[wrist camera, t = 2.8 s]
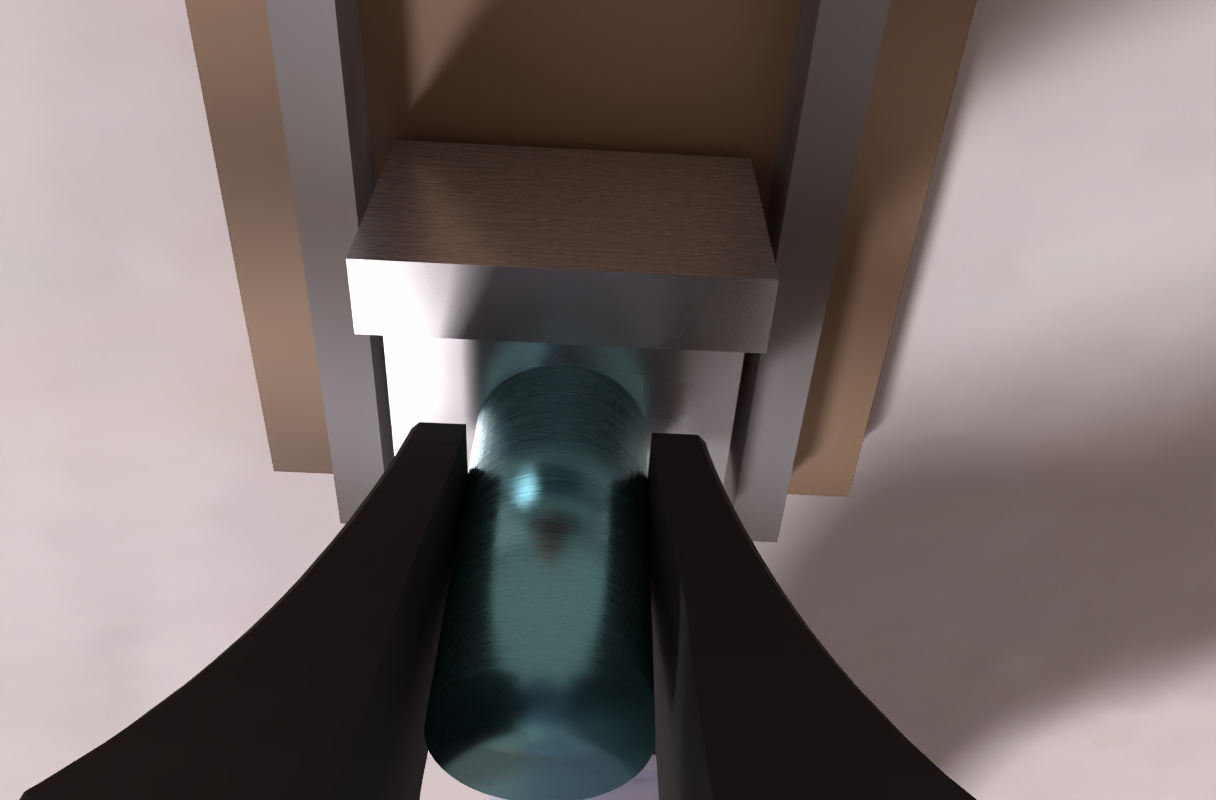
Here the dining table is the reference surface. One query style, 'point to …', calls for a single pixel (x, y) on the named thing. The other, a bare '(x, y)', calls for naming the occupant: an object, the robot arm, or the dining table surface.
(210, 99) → the frame
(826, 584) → the dining table surface
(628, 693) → the ram
